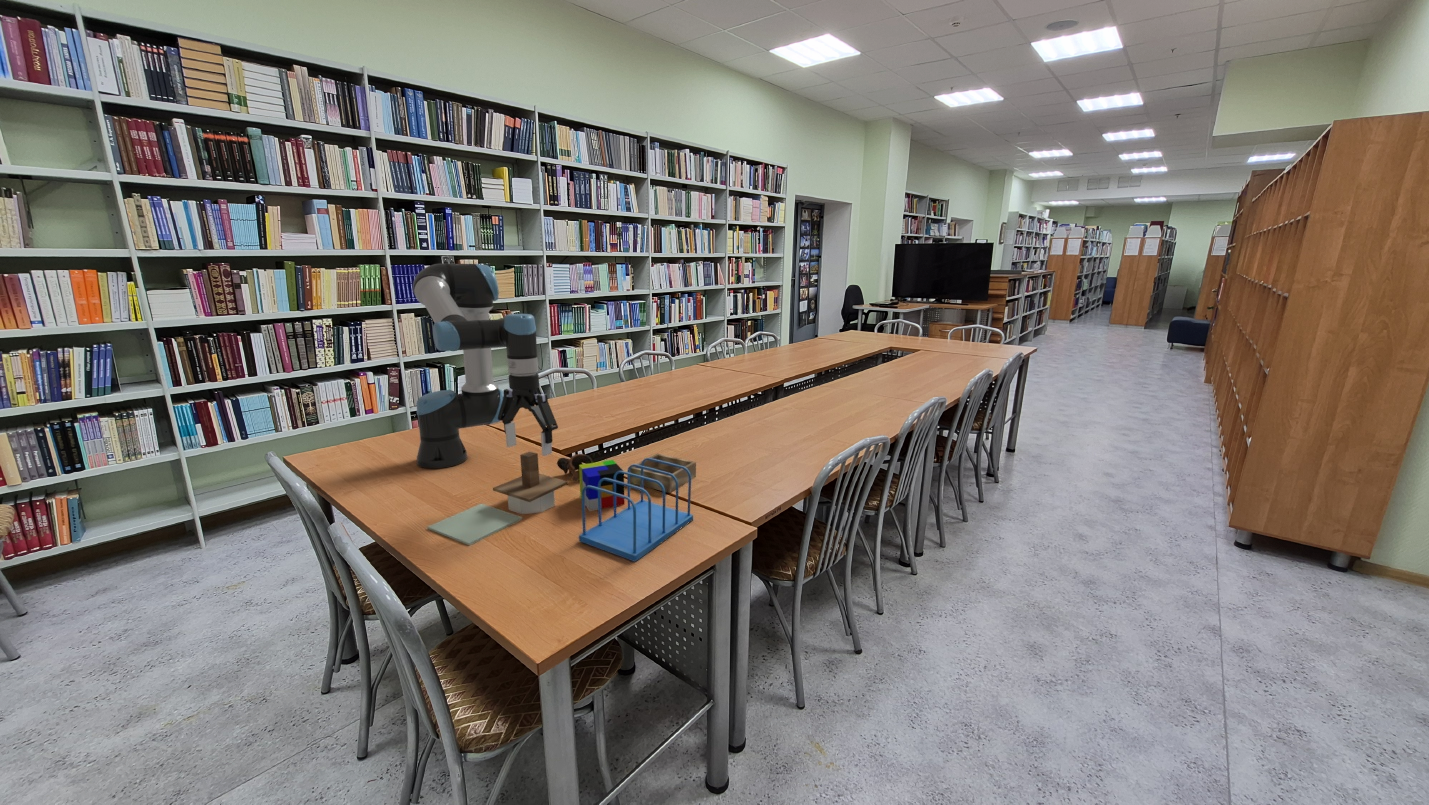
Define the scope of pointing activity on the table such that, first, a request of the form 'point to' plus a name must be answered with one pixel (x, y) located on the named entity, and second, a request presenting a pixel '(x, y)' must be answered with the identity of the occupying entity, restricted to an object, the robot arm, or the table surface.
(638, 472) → the tray
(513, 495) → the lid
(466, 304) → the robot arm
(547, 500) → the bowl
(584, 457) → the animal figurine
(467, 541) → the mat
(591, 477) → the puzzle toy
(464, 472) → the table surface
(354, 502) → the table surface
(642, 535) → the file sorter
